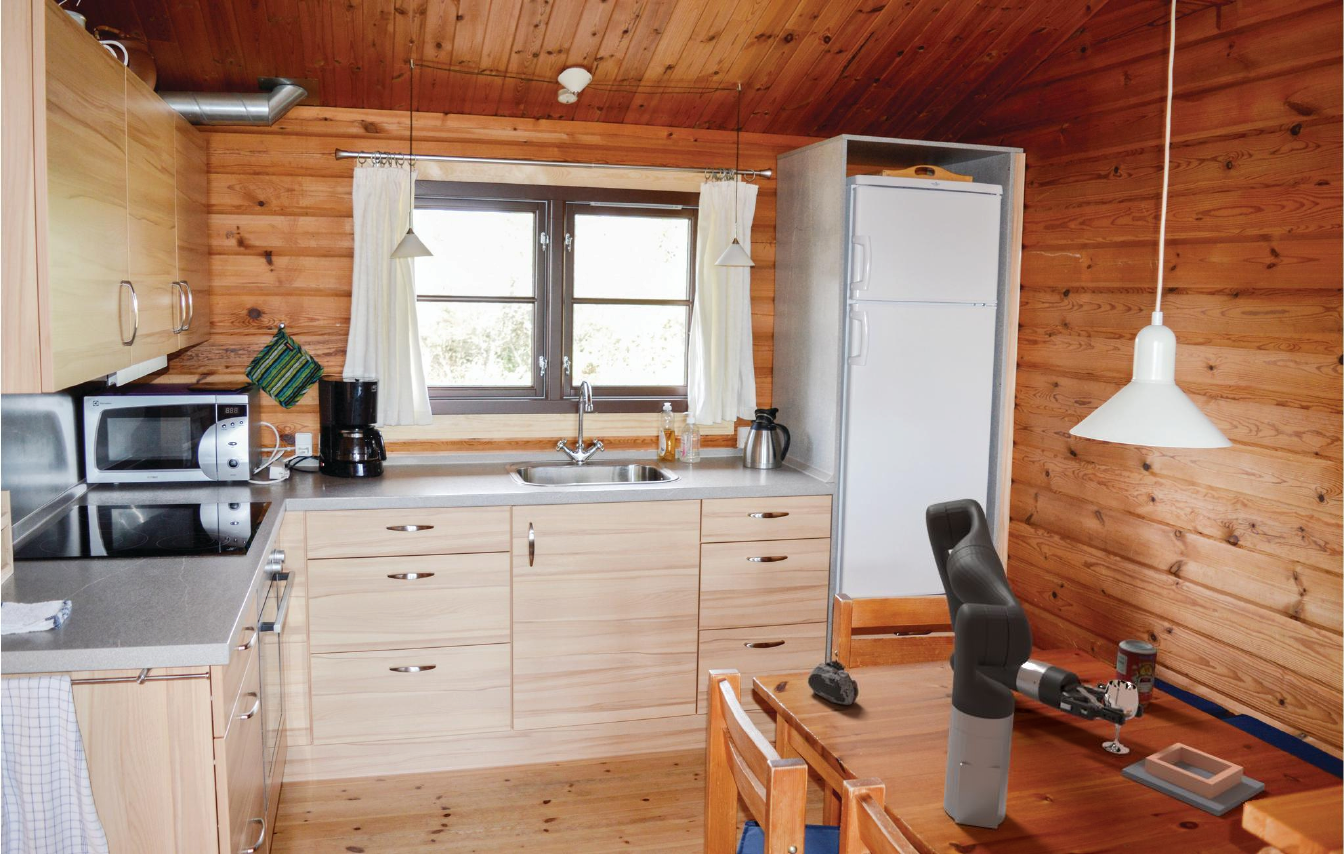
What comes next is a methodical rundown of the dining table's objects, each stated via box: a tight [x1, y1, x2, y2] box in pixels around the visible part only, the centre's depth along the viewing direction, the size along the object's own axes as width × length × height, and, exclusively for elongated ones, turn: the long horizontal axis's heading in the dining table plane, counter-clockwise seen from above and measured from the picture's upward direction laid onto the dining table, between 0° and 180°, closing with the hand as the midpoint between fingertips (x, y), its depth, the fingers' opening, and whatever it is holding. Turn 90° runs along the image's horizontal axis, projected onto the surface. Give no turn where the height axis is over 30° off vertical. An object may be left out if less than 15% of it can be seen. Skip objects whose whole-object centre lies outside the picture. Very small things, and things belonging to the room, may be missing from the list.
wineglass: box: [1101, 679, 1138, 755], centre depth 176 cm, size 6×6×12 cm
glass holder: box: [1121, 742, 1266, 817], centre depth 165 cm, size 16×16×4 cm
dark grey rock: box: [807, 659, 859, 706], centre depth 196 cm, size 12×7×10 cm
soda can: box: [1114, 638, 1158, 708], centre depth 198 cm, size 7×7×12 cm
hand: (1133, 715), depth 174 cm, fingers closed on wineglass, 5 cm apart
